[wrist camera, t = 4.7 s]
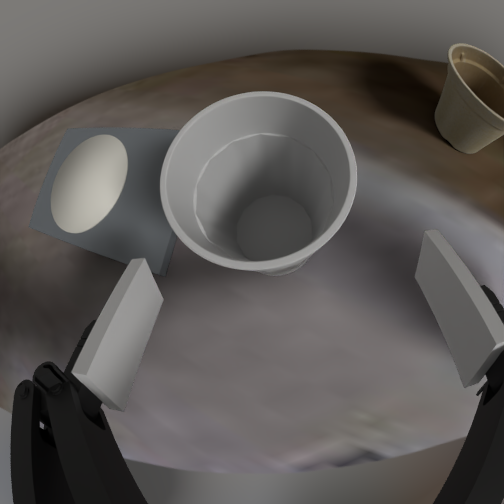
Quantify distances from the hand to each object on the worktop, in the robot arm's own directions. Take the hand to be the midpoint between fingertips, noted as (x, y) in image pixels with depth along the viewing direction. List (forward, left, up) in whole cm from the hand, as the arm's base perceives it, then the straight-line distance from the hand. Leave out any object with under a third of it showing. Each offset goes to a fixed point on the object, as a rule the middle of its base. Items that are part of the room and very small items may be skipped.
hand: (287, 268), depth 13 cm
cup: (-2, +3, -9) cm, 10 cm away
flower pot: (+14, +19, -9) cm, 26 cm away
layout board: (-20, +4, -9) cm, 22 cm away
